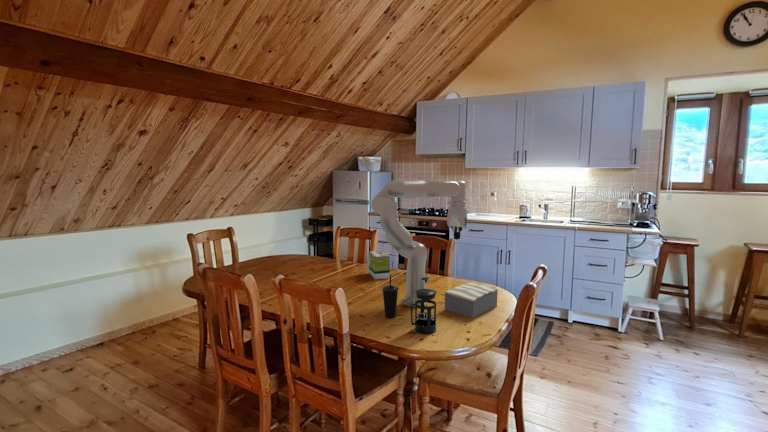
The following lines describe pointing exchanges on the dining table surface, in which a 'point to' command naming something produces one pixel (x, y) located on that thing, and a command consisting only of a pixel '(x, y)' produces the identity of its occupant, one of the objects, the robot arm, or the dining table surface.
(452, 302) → the storage box
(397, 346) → the dining table surface
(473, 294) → the near flap
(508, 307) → the dining table surface
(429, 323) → the french press
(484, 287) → the far flap
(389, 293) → the drinking cup
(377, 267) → the tea box
